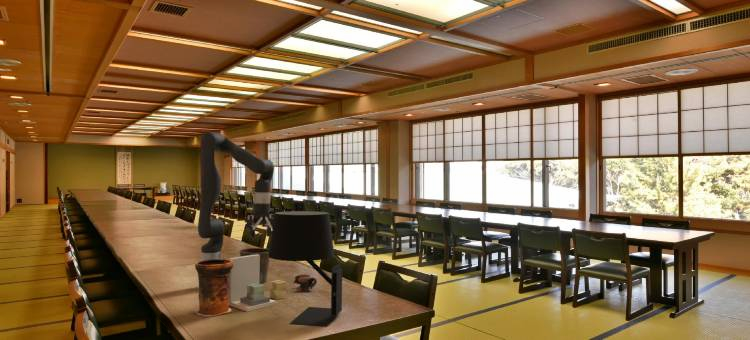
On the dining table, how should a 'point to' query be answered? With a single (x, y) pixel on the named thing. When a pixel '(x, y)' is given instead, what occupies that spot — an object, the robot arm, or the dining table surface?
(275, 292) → the mustard block
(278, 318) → the dining table surface
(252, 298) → the sage block
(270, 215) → the robot arm
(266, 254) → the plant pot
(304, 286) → the pottery mug
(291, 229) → the table lamp
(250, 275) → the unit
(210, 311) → the vessel
